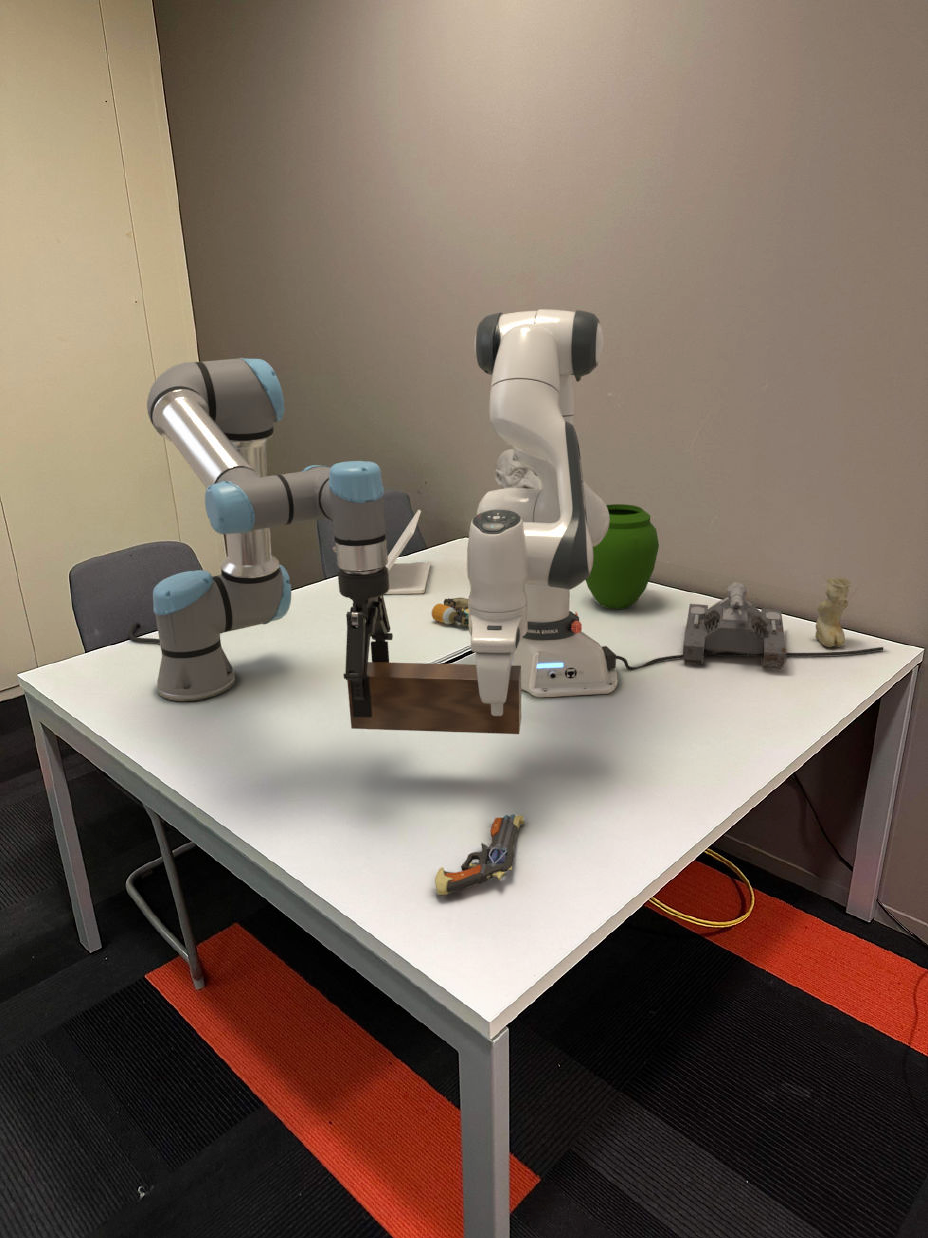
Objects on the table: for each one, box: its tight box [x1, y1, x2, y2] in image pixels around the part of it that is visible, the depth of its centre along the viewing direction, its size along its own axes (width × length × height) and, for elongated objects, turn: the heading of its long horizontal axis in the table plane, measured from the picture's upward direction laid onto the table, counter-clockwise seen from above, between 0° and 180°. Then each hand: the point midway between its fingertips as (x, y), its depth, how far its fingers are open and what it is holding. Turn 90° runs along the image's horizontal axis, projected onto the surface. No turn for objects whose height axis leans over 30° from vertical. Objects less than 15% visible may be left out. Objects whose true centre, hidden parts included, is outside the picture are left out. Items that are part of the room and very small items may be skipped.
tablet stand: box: [385, 509, 431, 595], centre depth 236 cm, size 18×25×17 cm
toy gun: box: [434, 813, 525, 896], centre depth 119 cm, size 3×19×10 cm
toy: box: [682, 581, 787, 670], centre depth 184 cm, size 25×20×15 cm
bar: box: [346, 661, 522, 735], centre depth 133 cm, size 26×6×9 cm, turn 83°
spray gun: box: [430, 597, 469, 627], centre depth 208 cm, size 4×17×15 cm
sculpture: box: [814, 576, 852, 648], centre depth 185 cm, size 6×7×15 cm
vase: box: [585, 503, 660, 610], centre depth 210 cm, size 20×20×24 cm
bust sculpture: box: [494, 448, 543, 489], centre depth 231 cm, size 16×24×35 cm
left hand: (372, 696), depth 134 cm, fingers open, 13 cm apart
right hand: (499, 703), depth 132 cm, fingers closed on bar, 5 cm apart
